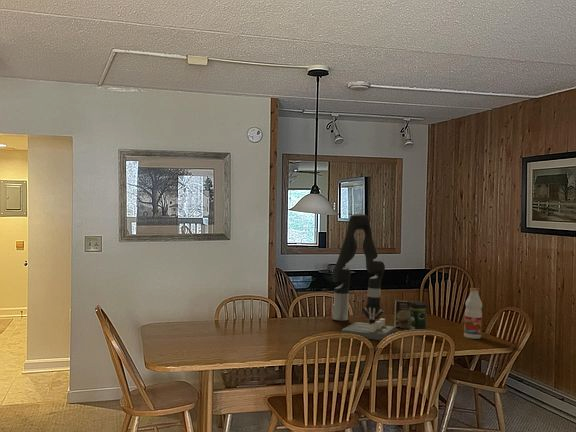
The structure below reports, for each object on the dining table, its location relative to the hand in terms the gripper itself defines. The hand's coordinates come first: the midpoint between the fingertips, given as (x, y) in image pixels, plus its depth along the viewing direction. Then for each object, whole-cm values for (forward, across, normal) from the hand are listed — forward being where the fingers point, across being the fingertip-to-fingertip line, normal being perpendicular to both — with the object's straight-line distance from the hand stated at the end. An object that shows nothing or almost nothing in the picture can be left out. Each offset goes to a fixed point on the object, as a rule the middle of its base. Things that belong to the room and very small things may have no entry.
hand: (372, 325), depth 326 cm
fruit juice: (+4, +52, +25) cm, 58 cm away
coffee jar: (+4, +22, +17) cm, 28 cm away
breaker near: (+1, +3, -9) cm, 9 cm away
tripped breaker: (+1, +3, 0) cm, 4 cm away
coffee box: (+5, +10, +29) cm, 31 cm away
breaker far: (+1, +3, +9) cm, 10 cm away
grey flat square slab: (+5, -2, 0) cm, 5 cm away
